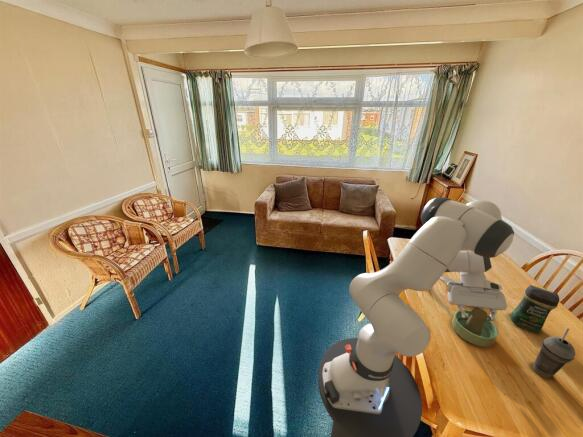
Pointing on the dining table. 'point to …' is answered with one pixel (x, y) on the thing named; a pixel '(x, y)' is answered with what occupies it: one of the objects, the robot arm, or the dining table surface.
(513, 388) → the dining table surface
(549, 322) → the dining table surface
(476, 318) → the brown peanut shape
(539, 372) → the beverage cup
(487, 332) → the bowl
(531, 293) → the coffee jar
